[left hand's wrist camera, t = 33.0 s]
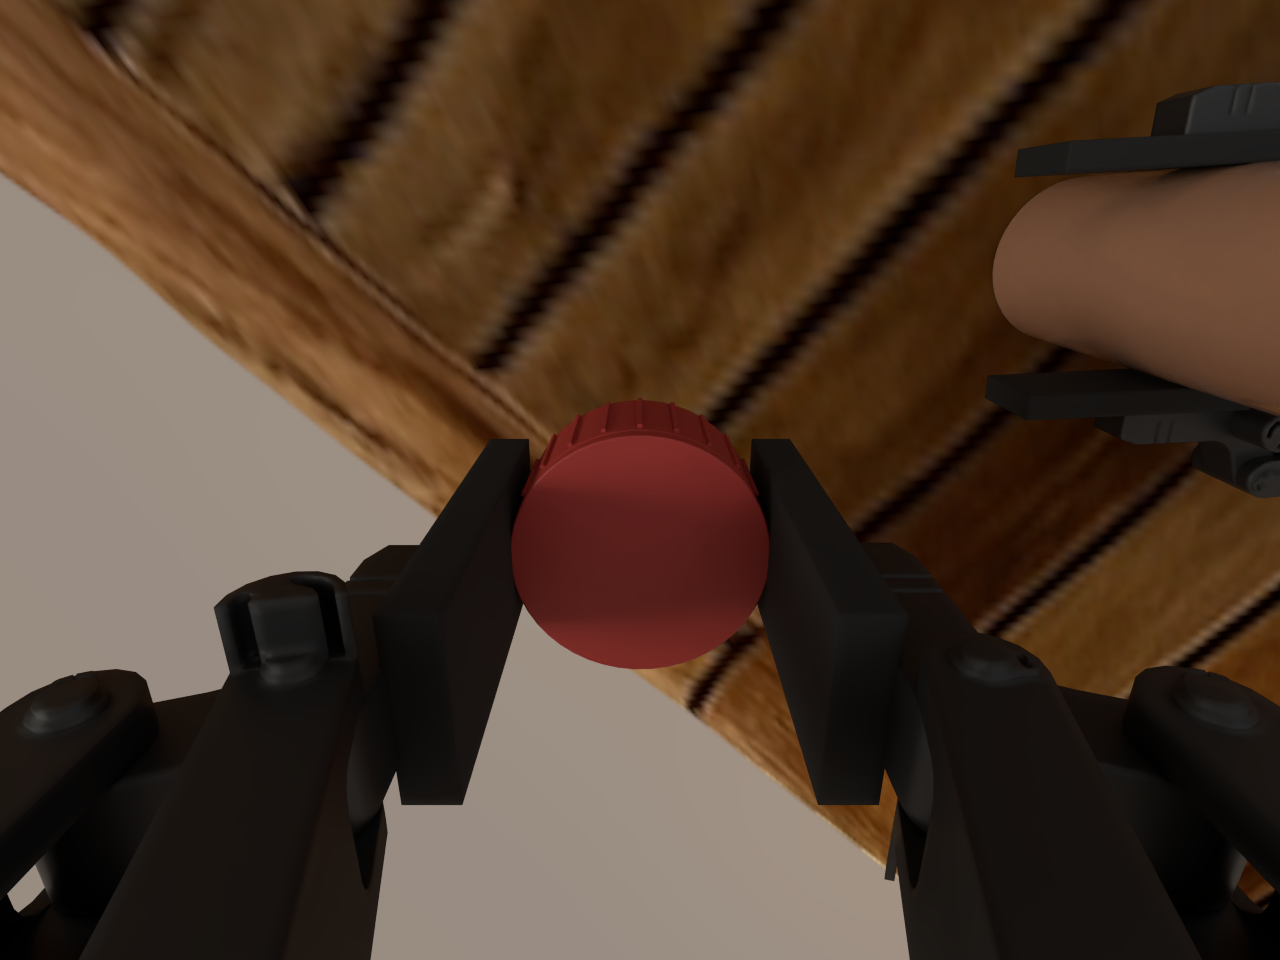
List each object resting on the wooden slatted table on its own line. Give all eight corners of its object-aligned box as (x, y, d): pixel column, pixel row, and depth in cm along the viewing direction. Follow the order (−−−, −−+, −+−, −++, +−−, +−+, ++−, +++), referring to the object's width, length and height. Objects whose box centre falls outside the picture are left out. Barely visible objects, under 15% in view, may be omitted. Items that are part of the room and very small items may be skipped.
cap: (576, 630, 15) (566, 701, 13) (490, 441, 14) (461, 484, 11) (778, 567, 15) (804, 630, 12) (713, 363, 13) (728, 393, 11)
